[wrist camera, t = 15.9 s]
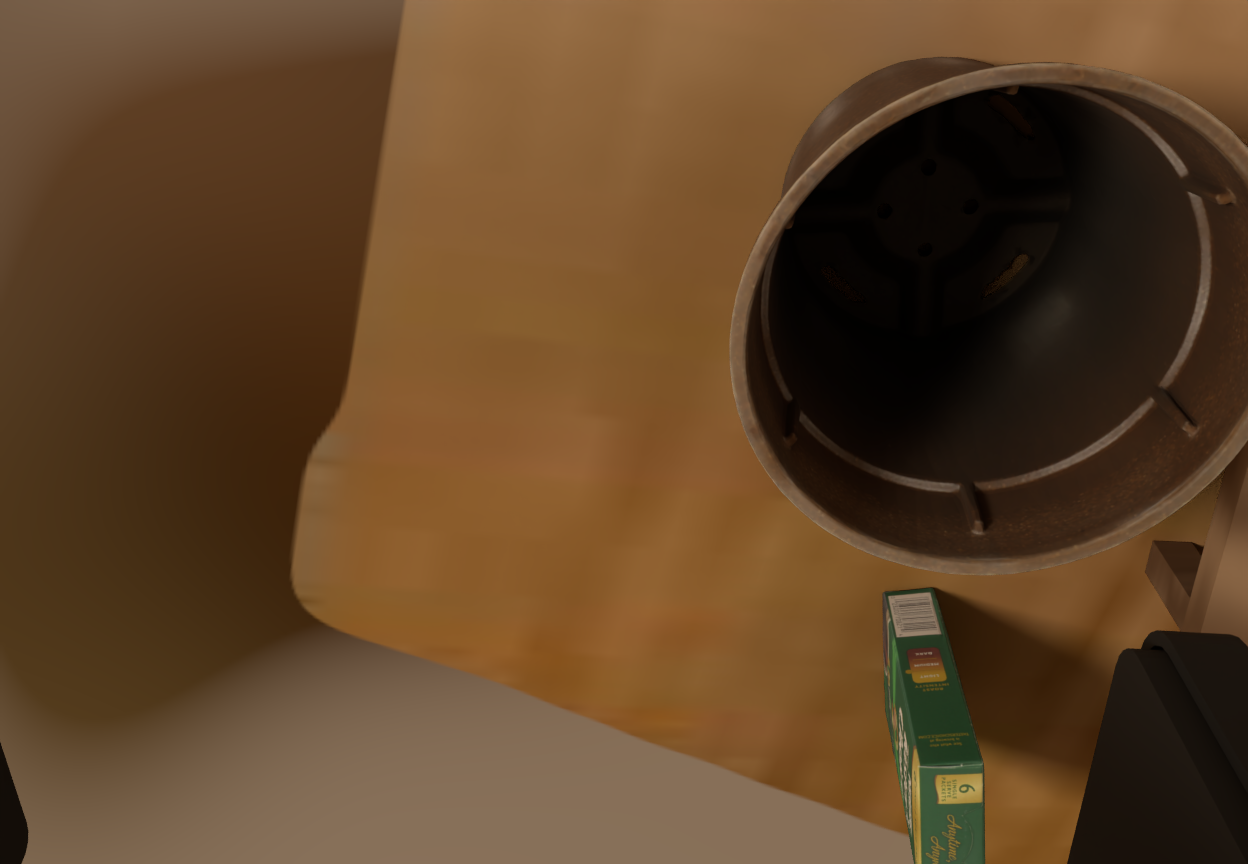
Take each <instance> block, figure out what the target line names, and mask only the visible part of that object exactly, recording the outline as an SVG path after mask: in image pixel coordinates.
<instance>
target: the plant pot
mask: <svg viewBox="0 0 1248 864" xmlns="http://www.w3.org/2000/svg"><path fill="white" fill-rule="evenodd" d="M994 95H1001V96H1002V97H1004V98H1005V99H1006V100H1008V101H1009V102H1010V103H1011V104H1012V105H1013V106H1015V107H1016V108H1017V110H1018V111H1019V112H1020V113H1021V115H1022V116H1023V117H1024V119H1025V120H1027V121H1028V123H1029V124H1030V126H1031V128H1032V130H1033V134H1034V136H1035V137H1034V139H1033V140H1028V139H1027V138H1024V137H1022V135H1021V134H1020V133H1019V132H1018V131H1016V130H1015V129H1014V127H1013V126H1012V125H1011V124H1010V123H1008V122H1007V120H1006V119H1005V118H1003V117H1002V116H1001V115H1000V114H999V113H997V112H996V111H994V110H992V109H991V108H990V107H989V105H988V100H989V98H990V97H991V96H994ZM927 159H931V160H934V161H935V163H936V165H937V168H936V171H935V172H934V173H933V175H925V174H924V173H923V172H922V170H921V165H922V164H923V162H924V161H925V160H927ZM970 199H975V200H976V201H977V203H978V208H977V210H976V211H975V212H974V213H972V214H965V213H964V210H963V205H964V203H965V201H968V200H970ZM883 203H887V204H889V205H890V206H891V208H892V213H891V215H890V216H889V217H888V218H887V219H881V218H880V217H879V216H878V213H877V209H878V207H879V206H880V205H881V204H883ZM926 242H927V243H929V244H931V246H932V252H931V253H930V254H929V255H928V256H926V257H923V256H920V255H919V253H918V247H919V246H920V245H921V244H923V243H926ZM1024 253H1025V254H1027V255H1028V261H1027V263H1026V264H1025V265H1024V266H1023V267H1022V269H1021V270H1020V271H1019V272H1018V273H1017V274H1016V275H1015V276H1014V277H1013V278H1012V279H1011V280H1010V281H1009V282H1007V283H1006V284H1005V285H1004V286H1003V287H1002V288H1001V289H999V290H998V291H996V292H995V293H993V294H992V295H990V296H988V297H986V298H984V299H981V293H982V291H983V289H984V287H985V285H987V284H988V283H990V282H993V281H994V280H995V278H996V277H997V276H998V275H1000V273H1001V272H1002V271H1003V270H1006V269H1008V267H1007V266H1008V265H1009V263H1010V262H1011V261H1012V260H1013V258H1014V257H1015V256H1017V255H1021V254H1024ZM824 266H831V267H833V268H835V269H836V270H837V272H838V274H837V276H841V277H842V278H843V279H845V280H846V281H847V282H848V283H849V284H850V285H851V287H852V288H854V289H855V290H856V291H858V292H860V293H861V294H862V295H863V296H864V297H865V298H866V303H865V304H864V303H855V302H853V301H851V300H849V299H848V298H846V297H845V296H844V295H843V294H842V293H840V292H839V291H838V290H837V289H836V288H835V287H833V286H832V285H831V284H830V283H829V282H828V281H827V280H826V279H825V277H824V276H823V275H822V273H821V269H822V268H823V267H824ZM730 372H731V380H732V387H733V393H734V397H735V402H736V406H737V410H738V413H739V416H740V419H741V422H742V426H743V429H744V431H745V433H746V436H747V438H748V440H749V443H750V445H751V447H752V449H753V450H754V452H755V454H756V456H757V458H758V460H759V461H760V463H761V465H762V466H763V468H764V469H765V471H766V472H767V474H768V475H769V477H770V478H771V479H772V481H773V482H774V483H775V484H776V486H777V487H778V488H779V489H780V491H781V492H782V493H783V494H784V495H785V496H786V497H787V498H788V499H789V500H790V501H791V502H792V503H793V504H794V505H795V506H796V507H797V508H798V509H799V510H800V511H801V512H803V513H804V514H805V515H806V516H807V517H808V518H810V519H811V520H812V521H813V522H815V523H816V524H817V525H819V526H820V527H822V528H823V529H824V530H826V531H827V532H829V533H831V534H832V535H834V536H835V537H837V538H839V539H840V540H842V541H844V542H846V543H848V544H850V545H852V546H853V547H855V548H858V549H860V550H862V551H864V552H867V553H869V554H871V555H874V556H877V557H879V558H882V559H885V560H889V561H892V562H895V563H899V564H902V565H906V566H910V567H913V568H919V569H924V570H929V571H935V572H941V573H948V574H962V575H1002V574H1014V573H1021V572H1028V571H1035V570H1040V569H1045V568H1050V567H1054V566H1058V565H1062V564H1066V563H1070V562H1073V561H1076V560H1079V559H1083V558H1086V557H1089V556H1092V555H1094V554H1097V553H1099V552H1102V551H1105V550H1107V549H1110V548H1112V547H1115V546H1117V545H1119V544H1121V543H1123V542H1126V541H1127V540H1129V539H1131V538H1133V537H1135V536H1137V535H1139V534H1141V533H1142V532H1144V531H1146V530H1148V529H1149V528H1151V527H1153V526H1155V525H1156V524H1158V523H1159V522H1161V521H1162V520H1164V519H1166V518H1167V517H1169V516H1170V515H1172V514H1173V513H1174V512H1176V511H1177V510H1178V509H1180V508H1181V507H1182V506H1184V505H1185V504H1186V503H1188V502H1189V501H1190V500H1191V499H1193V498H1194V497H1195V496H1196V495H1197V494H1198V493H1199V492H1201V491H1202V490H1203V489H1204V488H1205V487H1206V486H1207V485H1208V484H1209V483H1211V482H1212V481H1213V480H1214V479H1215V478H1216V477H1217V476H1218V475H1219V474H1220V473H1221V472H1222V471H1223V470H1224V469H1225V468H1226V466H1227V465H1228V464H1229V463H1230V462H1231V461H1232V460H1233V459H1234V458H1235V456H1236V455H1237V454H1238V453H1239V451H1240V450H1241V449H1242V447H1243V446H1244V445H1245V443H1246V442H1247V441H1248V147H1247V146H1246V145H1245V144H1244V143H1243V142H1242V141H1241V140H1240V139H1239V138H1238V137H1237V136H1236V135H1235V134H1234V132H1233V131H1232V130H1231V129H1229V128H1228V127H1227V126H1226V125H1225V124H1223V123H1222V122H1221V121H1220V120H1219V119H1217V118H1216V117H1215V116H1214V115H1213V114H1211V113H1210V112H1208V111H1207V110H1205V109H1204V108H1202V107H1201V106H1199V105H1198V104H1196V103H1195V102H1193V101H1191V100H1190V99H1188V98H1186V97H1184V96H1182V95H1180V94H1178V93H1177V92H1175V91H1173V90H1171V89H1168V88H1166V87H1164V86H1161V85H1159V84H1156V83H1154V82H1151V81H1149V80H1146V79H1144V78H1142V77H1138V76H1134V75H1131V74H1127V73H1123V72H1119V71H1115V70H1110V69H1105V68H1100V67H1092V66H1084V65H1078V64H1072V63H1053V62H1038V63H1018V64H1009V65H1001V66H992V65H989V64H986V63H983V62H980V61H975V60H971V59H967V58H959V57H934V58H922V59H916V60H910V61H904V62H900V63H897V64H894V65H891V66H888V67H886V68H883V69H881V70H878V71H876V72H874V73H872V74H870V75H868V76H866V77H865V78H863V79H861V80H860V81H858V82H857V83H855V84H853V85H852V86H851V87H849V88H848V89H847V90H845V91H844V92H843V93H841V94H840V95H839V96H838V97H837V98H835V99H834V100H833V101H832V102H831V103H830V104H829V105H828V106H827V107H826V108H825V109H824V110H823V111H822V112H821V113H820V114H819V115H818V117H817V118H816V119H815V120H814V122H813V123H812V124H811V126H810V127H809V128H808V130H807V131H806V133H805V134H804V136H803V138H802V139H801V141H800V143H799V144H798V146H797V148H796V150H795V152H794V155H793V157H792V159H791V161H790V164H789V167H788V170H787V173H786V176H785V180H784V184H783V190H782V196H781V199H780V201H779V202H778V204H777V205H776V207H775V208H774V210H773V211H772V213H771V215H770V216H769V218H768V220H767V221H766V223H765V225H764V227H763V228H762V230H761V232H760V234H759V235H758V238H757V240H756V242H755V244H754V246H753V248H752V250H751V253H750V255H749V258H748V261H747V263H746V266H745V269H744V272H743V275H742V278H741V281H740V284H739V287H738V291H737V295H736V300H735V305H734V310H733V315H732V322H731V331H730Z"/></svg>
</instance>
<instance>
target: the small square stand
mask: <svg viewBox="0 0 1248 864" xmlns="http://www.w3.org/2000/svg"><path fill="white" fill-rule="evenodd" d="M1145 573H1146V574H1147V576H1148V578H1149V579H1150V581H1151V583H1152V584H1153V586H1154V588H1155V589H1156V591H1157V593H1158V594H1159V596H1160V598H1161V599H1162V601H1163V602H1164V604H1165V606H1166V607H1167V609H1168V611H1169V612H1170V614H1171V616H1172V617H1173V619H1174V621H1175V622H1176V624H1177V626H1178V627H1179V629H1180V631H1181V632H1196V633H1216V634H1231V635H1234V636H1237V637H1239V638H1240V639H1241V640H1242V641H1243V642H1244V643H1245V644H1246V645H1247V646H1248V441H1247V442H1246V443H1245V445H1244V446H1243V447H1242V449H1241V450H1240V451H1239V453H1238V454H1237V455H1236V456H1235V458H1234V459H1233V460H1232V461H1231V462H1230V463H1229V464H1228V465H1227V466H1226V469H1225V473H1224V476H1223V480H1222V484H1221V487H1220V491H1219V495H1218V498H1217V502H1216V506H1215V509H1214V513H1213V517H1212V520H1211V524H1210V528H1209V531H1208V535H1207V539H1206V542H1205V546H1204V549H1203V553H1202V556H1201V555H1200V554H1199V552H1198V551H1197V549H1196V548H1195V546H1194V545H1193V544H1192V542H1170V541H1153V543H1152V547H1151V551H1150V555H1149V559H1148V563H1147V567H1146V571H1145Z"/></svg>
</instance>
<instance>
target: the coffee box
mask: <svg viewBox="0 0 1248 864" xmlns="http://www.w3.org/2000/svg"><path fill="white" fill-rule="evenodd" d="M883 649H884V650H883V652H884V690H885V712H886V717H887V721H888V726H889V732H890V736H891V742H892V747H893V753H894V756H895V761H896V767H897V773H898V778H899V784H900V789H901V794H902V799H903V805H904V810H905V815H906V821H907V827H908V832H909V838H910V842H911V849H912V855H913V860H914V864H985V802H984V763H983V759H982V756H981V753H980V749H979V746H978V742H977V739H976V735H975V732H974V728H973V724H972V720H971V716H970V713H969V709H968V706H967V702H966V699H965V695H964V692H963V688H962V685H961V681H960V677H959V673H958V670H957V666H956V662H955V658H954V655H953V651H952V647H951V644H950V640H949V637H948V633H947V630H946V626H945V623H944V619H943V616H942V613H941V609H940V607H939V603H938V600H937V597H936V593H935V591H934V589H933V588H925V589H915V590H904V591H888V592H884V593H883Z"/></svg>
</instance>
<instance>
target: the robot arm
mask: <svg viewBox="0 0 1248 864" xmlns="http://www.w3.org/2000/svg"><path fill="white" fill-rule="evenodd" d="M27 843H28V827H27V822H26V819H25V816H24V813H23V810H22V807H21V804H20V801H19V798H18V795H17V792H16V789H15V786H14V783H13V780H12V777H11V774H10V770H9V767H8V765H7V761H6V758H5V755H4V752H3V749H2V746H1V743H0V864H21V863H22V861H23V858H24V856H25V853H26V848H27ZM1067 864H1248V646H1247V645H1246V644H1245V643H1244V642H1243V641H1242V640H1241V639H1240V638H1239V637H1237V636H1234V635H1231V634H1216V633H1196V632H1177V631H1154V632H1152V633H1150V634H1149V635H1148V636H1147V638H1146V639H1145V640H1144V642H1143V645H1142V648H1141V649H1130V648H1128V649H1125V650H1123V652H1122V653H1121V654H1120V656H1119V658H1118V661H1117V664H1116V667H1115V671H1114V675H1113V679H1112V684H1111V688H1110V692H1109V696H1108V700H1107V704H1106V708H1105V712H1104V716H1103V720H1102V724H1101V728H1100V732H1099V736H1098V740H1097V745H1096V749H1095V753H1094V757H1093V761H1092V765H1091V769H1090V773H1089V777H1088V781H1087V785H1086V789H1085V793H1084V797H1083V801H1082V806H1081V810H1080V814H1079V818H1078V822H1077V826H1076V830H1075V834H1074V838H1073V842H1072V846H1071V850H1070V854H1069V858H1068V862H1067Z"/></svg>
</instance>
